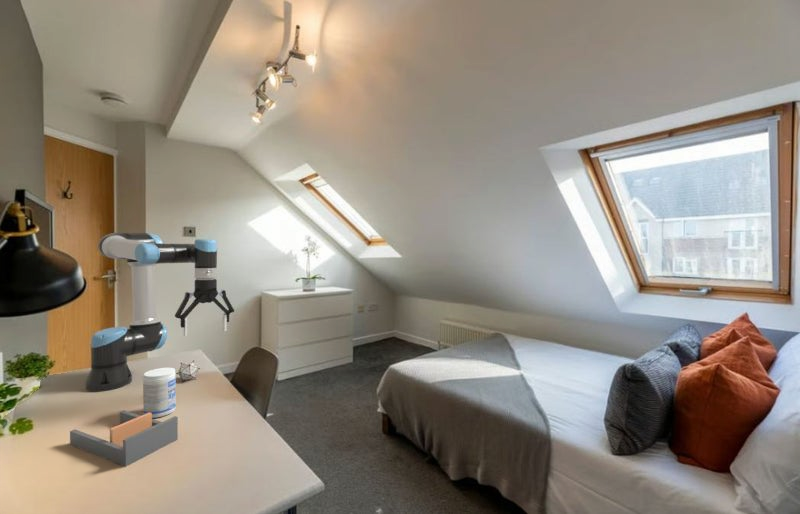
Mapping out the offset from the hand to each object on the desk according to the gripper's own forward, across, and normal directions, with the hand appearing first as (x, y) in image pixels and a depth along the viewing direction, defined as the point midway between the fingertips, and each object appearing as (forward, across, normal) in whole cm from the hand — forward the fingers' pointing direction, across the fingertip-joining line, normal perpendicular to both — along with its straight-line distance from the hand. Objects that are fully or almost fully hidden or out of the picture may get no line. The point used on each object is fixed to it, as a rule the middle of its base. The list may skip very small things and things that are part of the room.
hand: (205, 333), depth 136 cm
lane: (+25, -26, -19) cm, 41 cm away
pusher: (+25, -24, -24) cm, 42 cm away
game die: (+26, -2, +24) cm, 36 cm away
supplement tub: (+26, -15, -4) cm, 30 cm away
